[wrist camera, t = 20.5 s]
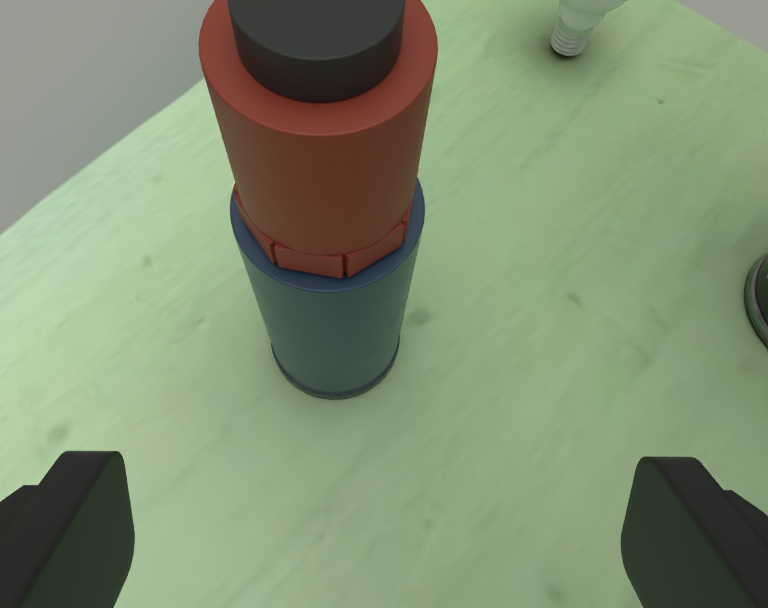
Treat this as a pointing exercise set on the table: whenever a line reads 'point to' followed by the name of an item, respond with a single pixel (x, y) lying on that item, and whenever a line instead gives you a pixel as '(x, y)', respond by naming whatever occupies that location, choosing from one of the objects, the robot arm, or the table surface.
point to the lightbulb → (578, 23)
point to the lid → (321, 122)
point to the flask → (333, 313)
